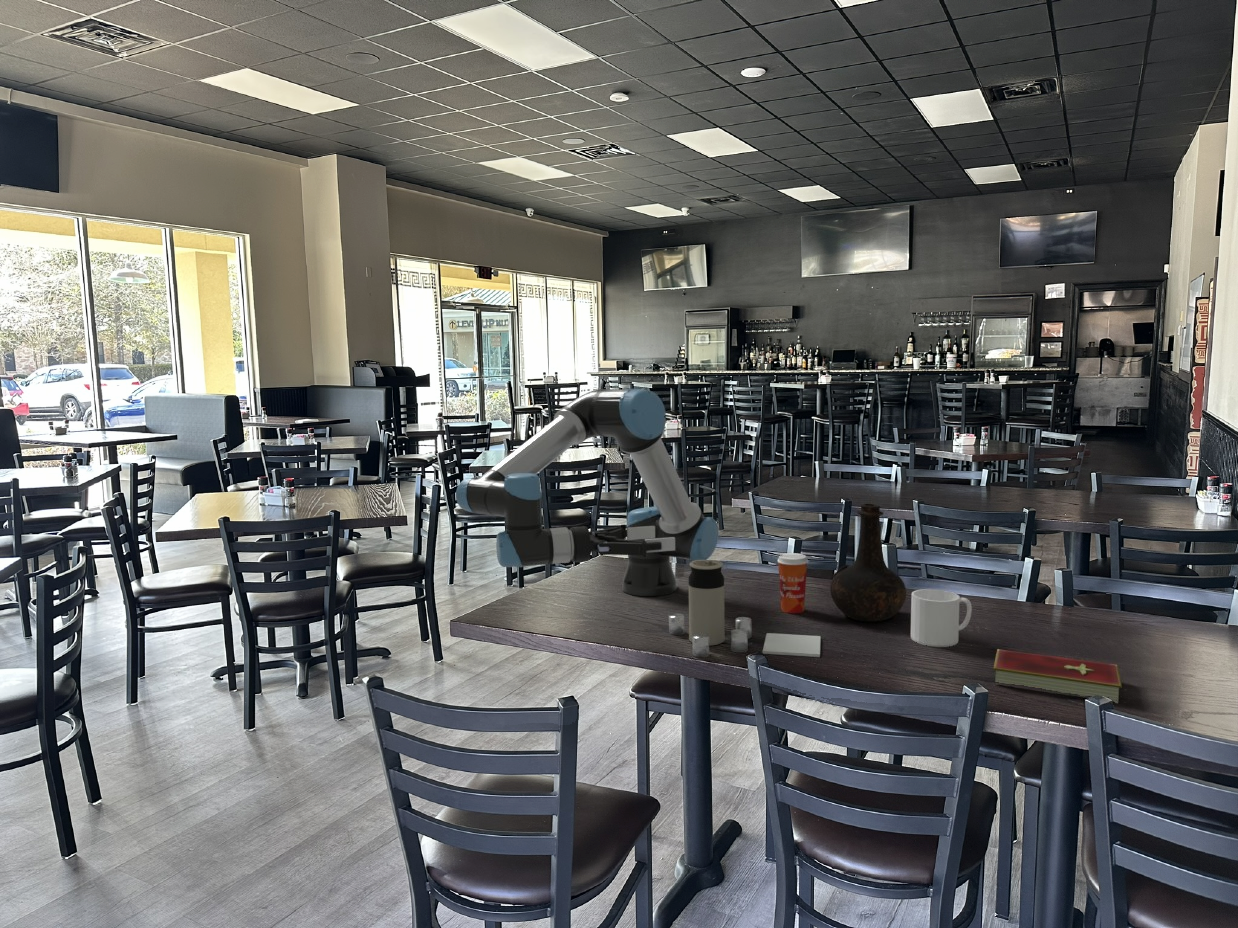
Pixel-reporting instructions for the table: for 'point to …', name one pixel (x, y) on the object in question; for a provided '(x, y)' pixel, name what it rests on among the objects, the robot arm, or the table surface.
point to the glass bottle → (868, 576)
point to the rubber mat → (792, 645)
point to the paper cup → (792, 581)
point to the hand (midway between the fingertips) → (664, 537)
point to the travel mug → (706, 600)
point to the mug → (937, 617)
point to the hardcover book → (1058, 674)
